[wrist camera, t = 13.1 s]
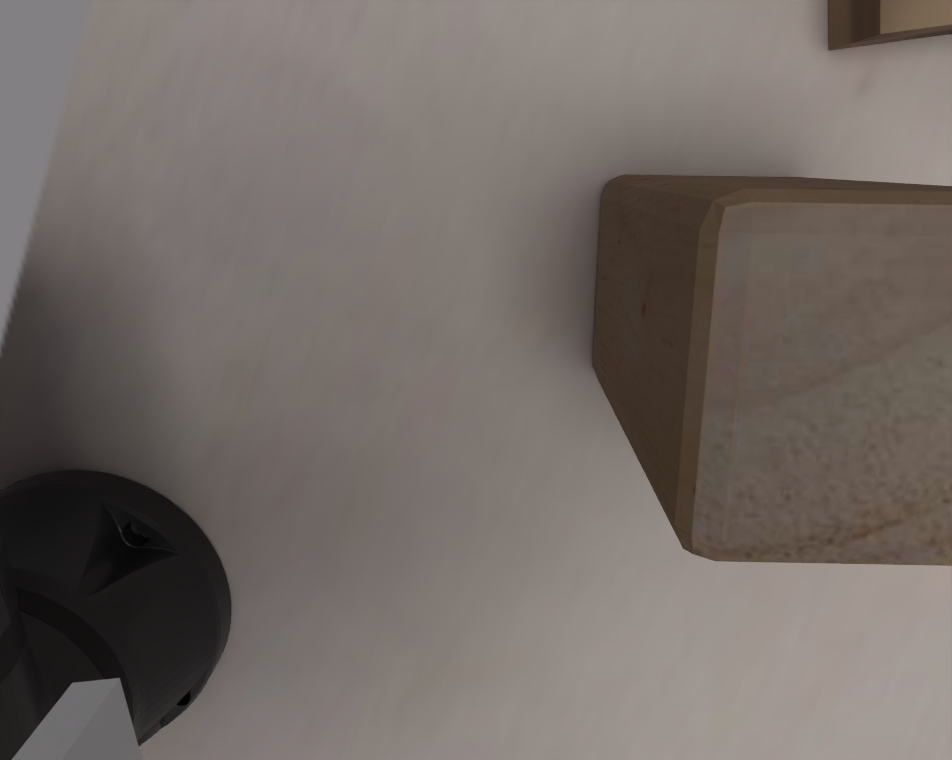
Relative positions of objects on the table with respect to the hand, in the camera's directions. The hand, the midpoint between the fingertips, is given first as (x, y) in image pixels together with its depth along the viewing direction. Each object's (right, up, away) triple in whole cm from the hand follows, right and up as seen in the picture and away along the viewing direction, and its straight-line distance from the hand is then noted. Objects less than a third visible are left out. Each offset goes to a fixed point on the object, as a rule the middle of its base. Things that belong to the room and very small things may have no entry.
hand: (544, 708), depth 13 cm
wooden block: (+10, +10, +27) cm, 30 cm away
